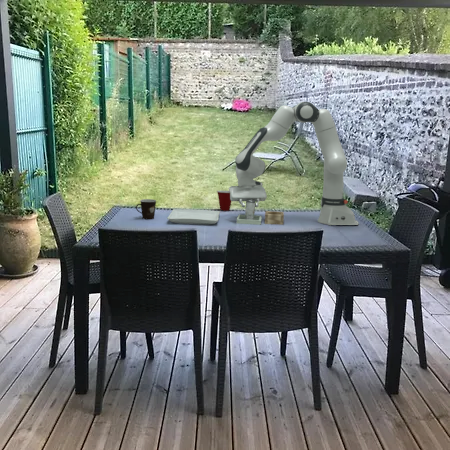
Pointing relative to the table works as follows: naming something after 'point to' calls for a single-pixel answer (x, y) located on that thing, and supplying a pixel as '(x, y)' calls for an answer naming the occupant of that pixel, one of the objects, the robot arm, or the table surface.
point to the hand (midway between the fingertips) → (250, 206)
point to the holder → (274, 217)
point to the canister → (250, 209)
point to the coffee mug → (147, 208)
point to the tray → (242, 220)
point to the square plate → (193, 216)
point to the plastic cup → (224, 200)
